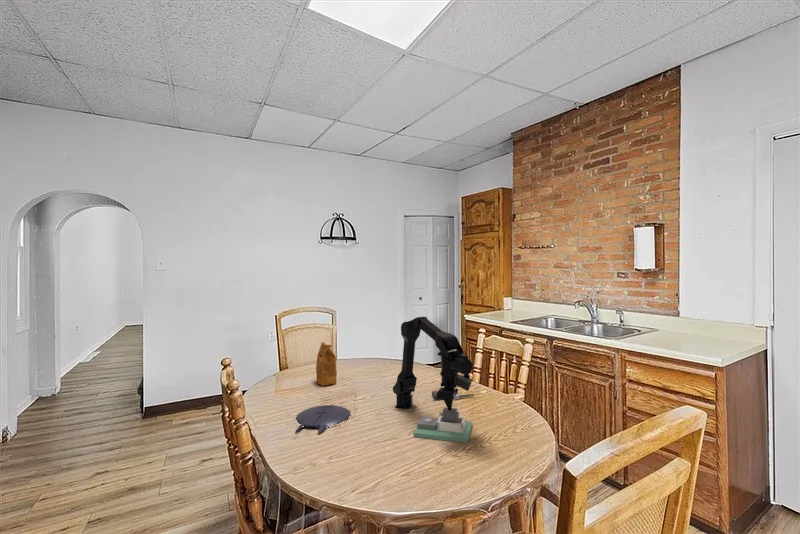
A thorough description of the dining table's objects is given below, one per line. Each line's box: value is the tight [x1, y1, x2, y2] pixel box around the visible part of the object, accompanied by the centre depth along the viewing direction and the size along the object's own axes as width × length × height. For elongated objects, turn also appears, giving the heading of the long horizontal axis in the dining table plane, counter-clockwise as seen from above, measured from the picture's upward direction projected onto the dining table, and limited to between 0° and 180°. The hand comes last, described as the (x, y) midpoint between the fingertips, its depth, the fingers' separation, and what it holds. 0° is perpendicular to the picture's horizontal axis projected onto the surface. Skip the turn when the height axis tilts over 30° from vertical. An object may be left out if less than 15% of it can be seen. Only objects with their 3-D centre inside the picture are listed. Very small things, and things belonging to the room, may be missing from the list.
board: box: [413, 415, 473, 444], centre depth 146 cm, size 20×15×4 cm
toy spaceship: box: [295, 404, 352, 434], centre depth 160 cm, size 28×24×3 cm
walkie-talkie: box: [431, 390, 475, 401], centre depth 182 cm, size 9×4×20 cm
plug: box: [438, 407, 460, 423], centre depth 145 cm, size 7×3×7 cm, turn 73°
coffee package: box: [315, 341, 337, 387], centre depth 208 cm, size 10×12×22 cm
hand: (449, 409), depth 145 cm, fingers closed, pressing on plug
